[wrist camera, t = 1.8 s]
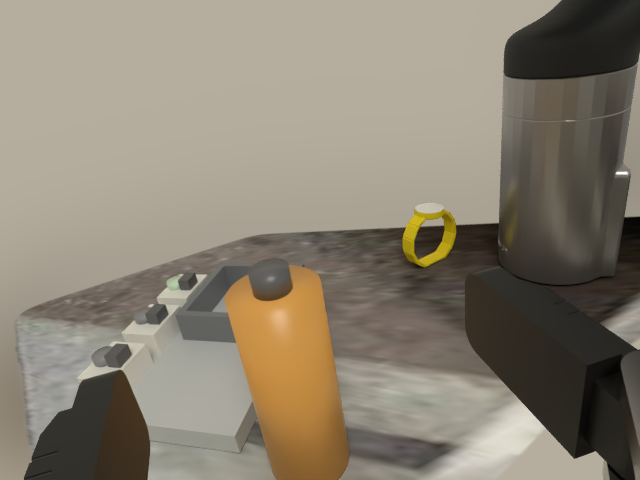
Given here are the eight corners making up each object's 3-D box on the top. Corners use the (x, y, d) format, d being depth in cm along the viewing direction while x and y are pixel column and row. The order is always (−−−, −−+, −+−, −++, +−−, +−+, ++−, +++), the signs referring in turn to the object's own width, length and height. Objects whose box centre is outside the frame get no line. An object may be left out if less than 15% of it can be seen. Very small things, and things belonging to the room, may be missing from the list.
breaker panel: (312, 299, 43) (305, 257, 41) (239, 453, 29) (223, 400, 27) (192, 295, 47) (180, 257, 45) (74, 430, 32) (49, 382, 30)
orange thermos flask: (356, 427, 29) (328, 245, 23) (339, 498, 25) (300, 298, 19) (286, 420, 31) (243, 245, 25) (259, 486, 26) (200, 295, 21)
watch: (441, 249, 49) (442, 196, 46) (461, 257, 47) (463, 202, 44) (397, 266, 46) (397, 210, 44) (416, 276, 44) (417, 218, 42)
